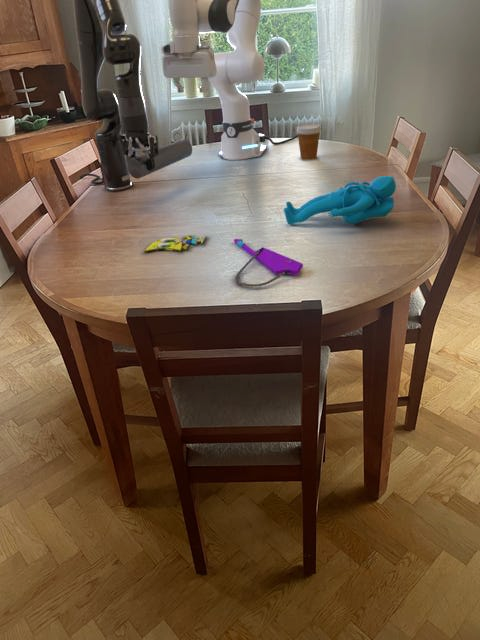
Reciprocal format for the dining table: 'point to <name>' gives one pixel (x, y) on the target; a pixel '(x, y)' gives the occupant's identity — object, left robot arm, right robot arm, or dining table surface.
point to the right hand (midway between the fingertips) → (191, 92)
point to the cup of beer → (308, 140)
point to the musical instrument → (269, 262)
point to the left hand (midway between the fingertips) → (143, 169)
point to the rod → (160, 158)
